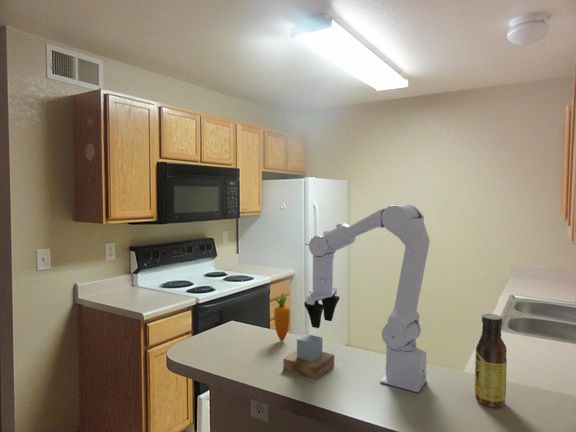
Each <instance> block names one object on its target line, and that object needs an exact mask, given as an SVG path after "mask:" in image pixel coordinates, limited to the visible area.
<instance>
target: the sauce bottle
mask: <svg viewBox="0 0 576 432" xmlns="http://www.w3.org/2000/svg"><path fill="white" fill-rule="evenodd" d="M481 322H482V330H481V336H480V338H479V340H478V342H477V344H476V347H475V359H474V360H475V363H474V366H475V367H474V394H475V399H476V401H477V402H478V403H479V404H482V406H483V405H484V406H486V407H489V408H494V409H495V408H496V407H498V408H501V407H503V406H504V405H505V403H506V396H507V395H506V394H507V393H506V392H507V366H508V365H507V362H508V361H507V347H506V344H505V343H504V341H503V339H502V326H503V317H502V316H500V315H498V314H494V313H484V314H482V315H481Z"/></svg>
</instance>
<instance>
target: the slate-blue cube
mask: <svg viewBox="0 0 576 432" xmlns="http://www.w3.org/2000/svg"><path fill="white" fill-rule="evenodd" d="M296 351H297V358H300V359H304V360H307V361H311V362H314V361H315V360H317V359H318V358H320V357H321V356H322V352H323V337H322V336H317V335H314V334H313V335H312V334H309V333H305V334H303V336H300V337H299V338H297V339H296Z"/></svg>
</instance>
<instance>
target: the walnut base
mask: <svg viewBox="0 0 576 432" xmlns="http://www.w3.org/2000/svg"><path fill="white" fill-rule="evenodd" d="M334 366H335V354H333V353H328V352H325V351H322V356H321V357H320V358H318V359H317V360H315V361H314V362H311V361H307V360H304V359H300V358H297V350H296V351H294V352H292V353H290V354H288V355H287V356H286V357H284V358H283V371H285V372H291V373H293V374H296V375H301V376H303V377H308V378H310V379H315V380H318V379H319V378H321V376H323V375H324V374H326V372H328V371H329V370H330V369H332V368H333V367H334Z"/></svg>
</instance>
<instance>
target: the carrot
mask: <svg viewBox="0 0 576 432" xmlns="http://www.w3.org/2000/svg"><path fill="white" fill-rule="evenodd" d="M280 296H281V297H279V299H278V298H277V297H275V298H274V301H276V302H277V303H278V305H277V306H276V307H275V308H274V310H273V313H274V327H275V331H276V334H277V338H278V339H279V340H280V341H281V342H284V340H285V338H286V337H287V334H288V331H289V325H290V315H291V309H290V307H289V306H287V305H286V304H285V303H286V300H287V296H285V294H284V293H281V294H280Z"/></svg>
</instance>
